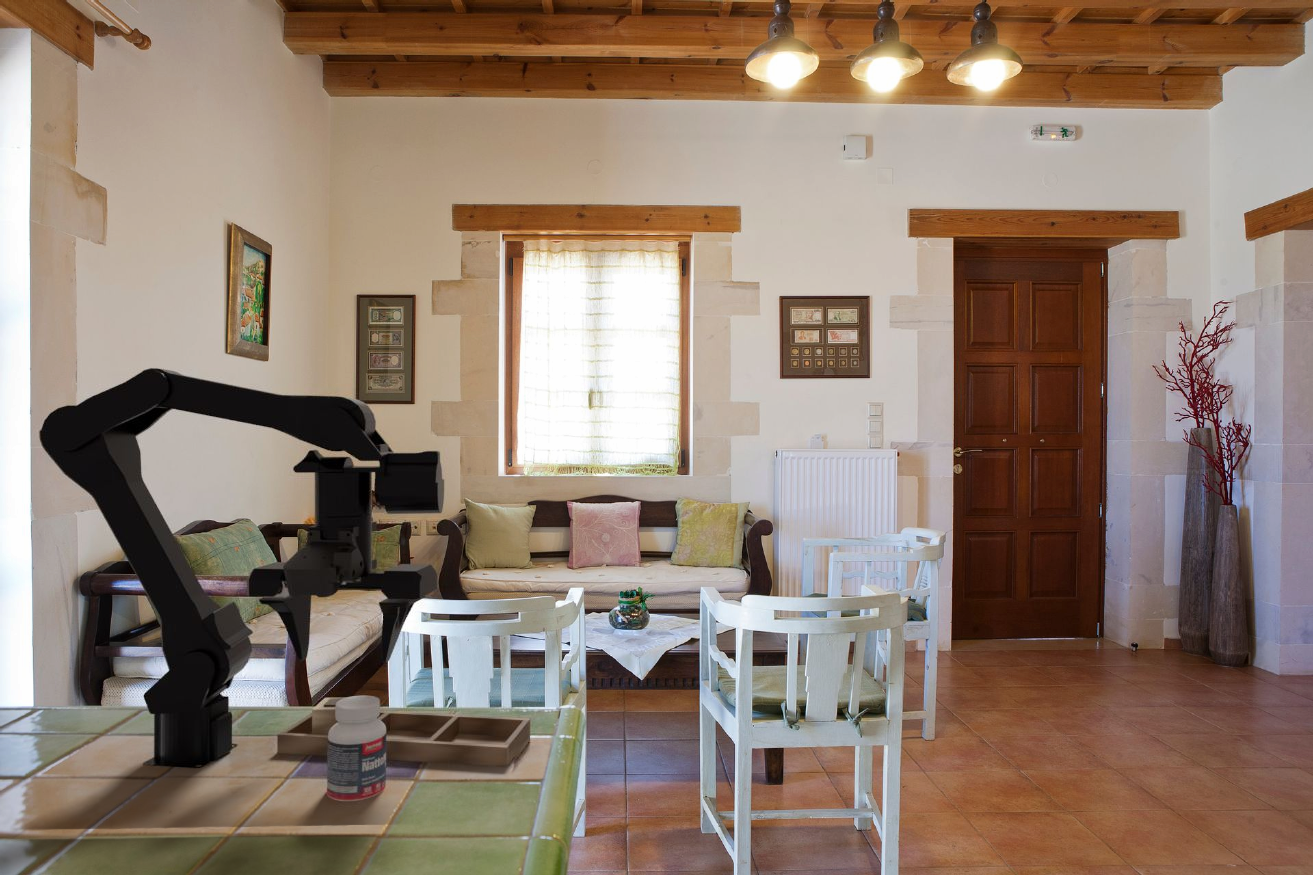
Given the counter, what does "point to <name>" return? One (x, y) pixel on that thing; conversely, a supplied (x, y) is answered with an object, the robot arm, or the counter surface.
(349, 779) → the pill bottle
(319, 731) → the tan hollow cube
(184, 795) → the counter surface
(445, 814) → the counter surface
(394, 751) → the bay tray
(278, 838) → the counter surface
